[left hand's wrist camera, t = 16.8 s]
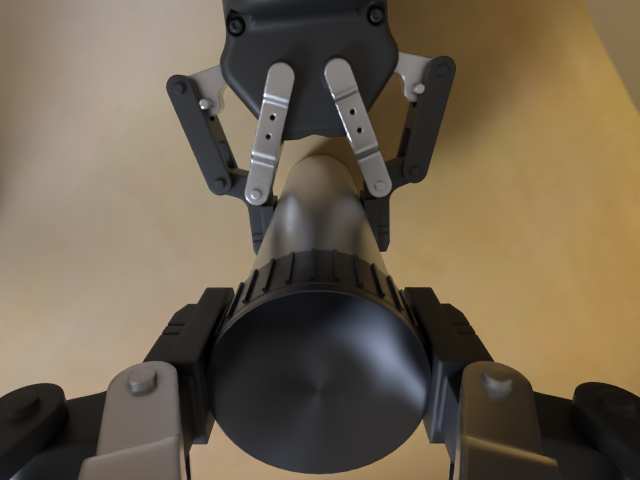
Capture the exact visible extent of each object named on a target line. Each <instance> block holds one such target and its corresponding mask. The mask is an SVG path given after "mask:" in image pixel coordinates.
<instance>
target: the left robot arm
mask: <svg viewBox="0 0 640 480" xmlns="http://www.w3.org/2000/svg"><path fill="white" fill-rule="evenodd" d="M404 294H405V296H406V299H407V301H408V303H409V306H411V308H412V311H413V313H414V315H415V318H416V320H417V322H418V325H419V327H420V329H421V332H422V334H423V336H424V339H425V341H426V344H427V345H424V348H425V350H426V353H427V356H428V359H429V362H430V366H431V374H432V378H431V387H430V396H429V404H428V407H427V410H426V413H425V415H424V417H423V423H424V426H425V429H426V432H427V435H428V439H429V442H430V443H445V445H446V448H447V451H448V454H449V456H450V462H449V470H448V480H640V398H639V397H638V396H636V395H634V394H633V393H631V392H629V391H627V390H624V389H622V388H619V387H617V386H613V385H610V384H606V383H600V382H586V383H583V384H580V385H578V386H577V387H576V389H575V392H574V395H573V399H572V400H570V399H565V398H560V397H556V396H551V395H546V394H542V393H538V392H534V391H533V389H532V386H531V384H530V382H529V381H528V380H527V379H526V377H524V376H523V375H522V374H521V373H519V372H518V371H516V370H515V369H513V368H511V367H509V366H506V365H504V364H500V363H497V362H494V360H493V359H492V357H491V356H490V354H489V353H488V351H487V349H486V348H485V346H484V345H483V343H482V342H481V340H480V339H479V337H478V336H477V335H476V334H475V331H474V330H473V328H472V326H470V323H469V322H468V320H467V319H466V317H465V316H464V314H463V313H462V312H461V311H459V310H458V309H456V308H455V307H454V306H452V305H451V304H440V302H439V300H438V299H437V297H436V295H435V293H434V292H433V290H432V288H431V287H406V288H405V289H404ZM234 296H235V294H234V290H233V288H206V290H205V291H204V293H203V295H202V297H201V298H200V300H199V302H198V303H197V304H188V305H186V306H185V307H183V308H182V309H180V310H179V311H177V312H176V313H175V314H174V316H173V317H172V319H171V320H170V322H169V323H168V326H166V328H165V329H164V331H163V332H162V335H160V337H159V338H158V340H157V341H156V343H155V344H154V346H153V347H152V349H151V350H150V352H149V353H148V355H147V356H146V358H145V359H144V361H143V362H142V363H140V364H136V365H134V366H131V367H129V368H127V369H125V370H124V371H122V372H121V373H119V374H118V375H117V376H116V377H114V379H113V380H112V381H111V382H110V384H109V386H108V389H107V391H104V392H101V393H98V394H94V395H89V396H84V397H80V398H75V399H71V400H66V398H65V395H64V392H63V389H62V388H61V387H60V386H58V385H55V384H50V383H40V384H34V385H29V386H26V387H22V388H20V389H17V390H14V391H12V392H10V393H8V394H6V395H4V396H2V397H1V398H0V480H192V470H191V462H190V455H189V451H190V449H191V446H192V444H207V443H208V440H209V437H210V434H211V431H212V428H213V425H214V421H215V418H214V416H213V414H212V412H211V409H210V406H209V400H208V392H207V383H206V367H207V363H208V360H209V356H210V350H211V348H212V345H213V343H214V341H215V338H216V336H215V335H214V334H215V332H216V330H217V328H218V325H219V323H220V321H221V319H222V316H223V314H224V312H225V310H226V307H227V305H228V303H229V300H230V298H231V297H232V298H234Z"/></svg>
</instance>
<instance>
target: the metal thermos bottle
mask: <svg viewBox="0 0 640 480" xmlns="http://www.w3.org/2000/svg"><path fill="white" fill-rule="evenodd" d="M312 248H315V249H316V250H328V251H333V249H335V250H337V252H341V253H346V254H349V255H352V256H353V255H354V254H355V255H358V258H360V259H362V260H364V261H367V262H369V263H370V264H372V263H374V264H376V265H377V268H378V269H379V270H381V271H382V272H383V273H384V274H385V275H387V276H388V272H387V269H386V267H385V264H384V261H383V259H382V256H381V253H380V251H379V248H378V246H377V243H376V240H375V238H374V235H373V232H372V230H371V227H370V225H369V222H368V219H367V217H366V214H365V211H364V209H363V206H362V204H361V201H360V198H359V196H358V193H357V190H356V188H355V185H354V183H353V180H352V177H351V175H350V173H349V171H348V169H347V168H346V167H345V166H344V165H343V164H342V163H341V162H340V161H338V160H337V159H335V158H333V157H330V156H326V155H314V156H310V157H307V158H305V159H303V160H301V161H300V162H298V163H297V164H296V165H295V166H294V167H293V169H292V170H291V172H290V173H289V176H288V178H287V181H286V183H285V186H284V188H283V191H282V193H281V196H280V198H279V201H278V204H277V206H276V209H275V211H274V214H273V216H272V219H271V221H270V224H269V226H268V229H267V232H266V234H265V237H264V239H263V242H262V244H261V247H260V249H259V252H258V254H257V257H256V260H255V262H254V265H253V267H252V270H251V272H250V275H249V277H250V276H251V275H252V272H253V270H254V269H257V270H258V269H260V268H261V267H263V266H264V265H266V264H267V263H269V262H270V259H272V258H274V259H278V258H280V257H282V256H285V255H289V254H290V252H292V251H294V253H296V252H302V251H310V250H311V249H312ZM249 277H248V278H249Z"/></svg>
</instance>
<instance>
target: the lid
mask: <svg viewBox="0 0 640 480" xmlns="http://www.w3.org/2000/svg"><path fill="white" fill-rule="evenodd" d="M214 335H215V336H216V338H215V341H214V343H213V345H212V348H211V350H210V356H209V360H208V363H207V367H206V383H207V392H208V400H209V406H210V409H211V412H212V414H213V416H214V418H215V420H216V422H217V423H218V425H219V426H220V428H221V429H222V430H223V432H224V433H225V434H226V435H227V437H228V438H229V439H230V440H231V441H232V442H233V443H234V444H236V445H237V446H238V447H239V448H241V449H242V450H243V451H244V452H246V453H247V454H249V455H251V456H252V457H254V458H256V459H258V460H260V461H262V462H264V463H266V464H268V465H271V466H274V467H277V468H280V469H284V470H288V471H292V472H298V473H305V474H332V473H339V472H346V471H350V470H354V469H358V468H361V467H364V466H366V465H369V464H372V463H374V462H376V461H378V460H380V459H382V458H384V457H385V456H387V455H388V454H390V453H392V452H393V451H394V450H396V449H397V448H398V447H399V446H401V445H402V444H403V443H404V442H405V441H406V440H407V439H408V438H409V437H410V436H411V435H412V434H413V432H414V431H415V430H416V428H417V427H418V426H419V424H420V422H421V420H422V419H423V417H424V415H425V413H426V410H427V407H428V404H429V396H430V387H431V378H432V374H431V366H430V362H429V359H428V356H427V353H426V350H425V348H424V345H427V344H426V341H425V339H424V336H423V334H422V332H421V329H420V327H419V325H418V322H417V320H416V318H415V315H414V313H413V311H412V308H411V306H409V303H408V301H407V299H406V296H405V294H404V292H403V290H402V289H401V290H400V291H399V289H398V288H397V286H396V285H395V284H394V281H393V279H392V277H391V276H390V275H388V276H387V275H385V274H384V273H383V272H382V271H381V270H379V269H378V268H377V265H376V264H374V263H372V264H370V263H369V262H367V261H364V260H362V259H360V258H358V255H355V254H354V255H353V256H352V255H349V254H346V253H341V252H337V250H335V249H333V251H328V250H316V249H315V248H312V249H311V250H310V251H302V252H296V253H294V251H292V252H290V254H289V255H285V256H282V257H280V258H278V259H274V258H272V259H270V262H269V263H267V264H266V265H264V266H263V267H261V268H260V269H258V270H257V269H254V270H253V272H252V275H251V276H250V277H249V278H248V279H247V280H246V281H245V282H244V283H243V282H241V283H240V284H239V286H238V289H237V291H236V293H235V296H234V298H232V297H231V298H230V300H229V303H228V305H227V307H226V310H225V312H224V314H223V316H222V319H221V321H220V323H219V325H218V328H217V330H216V332H215V334H214Z"/></svg>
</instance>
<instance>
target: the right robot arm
mask: <svg viewBox="0 0 640 480" xmlns="http://www.w3.org/2000/svg"><path fill="white" fill-rule="evenodd" d="M222 2H223V10H224V17H225V25H226V42H225V46H224V50H223V52H222V55H221V58H220V65H217V66H215V67H212V68H209V69H207V70H204V71H201V72H199V73H196V74H193V75H191V76H185V75H173V76H172V77H170V78H169V80H168V81H167V85H166V89H167V92H168V95H169V97H170V99H171V102H172V104H173V106H174V109H175V111H176V113H177V116H178V118H179V120H180V122H181V125H182V127H183V129H184V132H185V134H186V136H187V139H188V141H189V143H190V145H191V148H192V150H193V152H194V155H195V157H196V159H197V162H198V164H199V166H200V168H201V171H202V173H203V175H204V178H205V180H206V182H207V185H208V187H209V189H210V190H211V191H212V192H213V193H214V194H216V195H225V194H227V195H230V196H234V197H237V198H240V199H242V200H243V201H244V202H245V203H246V205H247V206H248V210H249V217H250V224H251V232H252V239H253V247H254V252H255V253H256V255H257V254H258V252H259V249H260V247H261V244H262V242H263V239H264V237H265V234H266V232H267V229H268V226H269V224H270V221H271V219H272V216H273V214H274V211H275V209H276V206H277V204H278V197H277V196H273V189H272V188H273V184H274V180H275V176H276V172H277V168H278V163H279V159H280V156H281V153H282V149H283V145H284V141H285V140H299V139H301V138H304V137H307V136H310V135H313V134H316V135H321V136H326V137H343V136H346V137H347V139H348V142H349V144H350V147H351V149H352V152H353V154H354V157H355V159H356V162H357V164H358V167H359V169H360V172H361V174H362V177H363V189H364V190H360V201H361V204H362V206H363V209H364V211H365V214H366V217H367V219H368V222H369V225H370V227H371V230H372V232H373V235H374V238H375V240H376V243H377V246H378V248H379V251H380V252H385V251H386V250H387V248H388V245H389V243H390V234H389V199H390V196H391V194H392V192H393V191H394V190H395V189H397V188H398V187H400V186H403V185H405V184H407V183H410V182H411V183H418V182H420V181H422V180H423V179H424V178H425V176H426V174H427V171H428V168H429V164H430V160H431V157H432V153H433V150H434V146H435V143H436V139H437V135H438V132H439V128H440V125H441V121H442V118H443V114H444V111H445V107H446V103H447V100H448V96H449V93H450V89H451V86H452V82H453V79H454V75H455V71H456V66H455V63H454V61H453V60H452V59H451V58H450V57H448V56H440V57H435V58H428V57H424V56H419V55H414V54H409V53H405V52H400V51H399V50H398V46H397V43H396V41H395V40H394V38H393V36H392V34H391V31H390V28H389V24H388V17H387V0H222ZM393 73H394V74H396V75H397V76H398V77H399V79H400V81H401V95H402V97H403V98H404V99H405V100H407V101H409V102H410V104H409V108H408V112H407V116H406V120H405V124H404V128H403V132H402V136H401V140H400V144H399V148H398V152H397V156H396V158H394V159H392V160H389V161H387V162H385V163H384V161H383V158H382V155H381V152H380V149H379V145H378V142H377V139H376V136H375V134H374V131H373V128H372V126H371V123H370V120H369V117H368V115H367V114H368V112H369V110H370V109H371V107H372V106H373V104H374V103H375V101H376V99H377V98H378V96H379V95H380V93H381V92H382V90H383V88H384V87H385V85H386V84H387V82H388V81H389V79H390V77H391V76H392V74H393ZM227 86H229V87H230V88H231V89H232V90H233V91H234V93H235V94H236V95H237V96H238V97H239V98H240V100H241V101H242V102H243V103H244V104H245V106H246V107H247V108H248V109H249V110H250V111H251V113H252V114H253V115H254V116H255V117H256V118H257V120H258V125H257V130H256V134H255V139H254V144H253V148H252V154H251V164H250V169H249V171H246V170H242V169H239V168H238V166H237V164H236V161H235V159H234V156H233V154H232V151H231V149H230V146H229V144H228V141H227V139H226V136H225V134H224V131H223V129H222V126H221V124H220V121H219V119H218V116H217V115H219V114H220V113H221V112H222V111H223V109H224V100H223V93H224V90H225V88H226V87H227Z"/></svg>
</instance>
